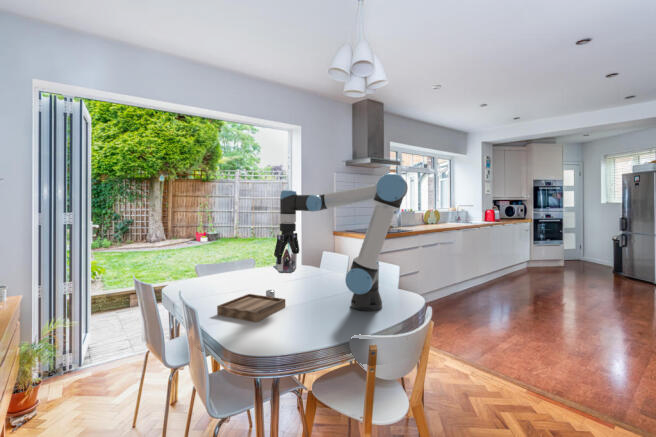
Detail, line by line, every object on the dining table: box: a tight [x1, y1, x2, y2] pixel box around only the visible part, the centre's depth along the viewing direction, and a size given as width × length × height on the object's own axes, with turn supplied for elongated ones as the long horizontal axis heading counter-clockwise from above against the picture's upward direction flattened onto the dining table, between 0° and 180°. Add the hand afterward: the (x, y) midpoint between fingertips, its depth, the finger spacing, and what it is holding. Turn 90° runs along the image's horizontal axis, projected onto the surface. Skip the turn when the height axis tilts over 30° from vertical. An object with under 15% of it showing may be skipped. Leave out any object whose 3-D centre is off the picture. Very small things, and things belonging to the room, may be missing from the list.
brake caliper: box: [272, 248, 297, 274], centre depth 155 cm, size 11×11×12 cm
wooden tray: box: [216, 293, 286, 323], centre depth 151 cm, size 22×22×4 cm
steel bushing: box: [265, 289, 276, 298], centre depth 167 cm, size 4×4×5 cm
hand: (287, 268), depth 154 cm, fingers closed on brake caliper, 11 cm apart
